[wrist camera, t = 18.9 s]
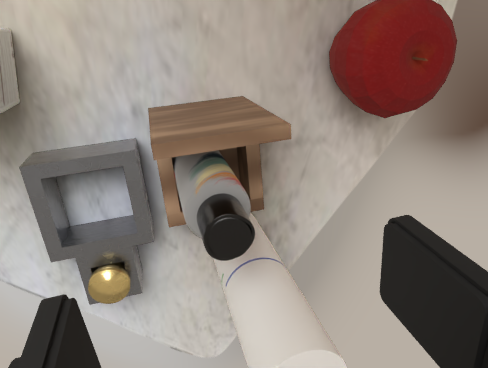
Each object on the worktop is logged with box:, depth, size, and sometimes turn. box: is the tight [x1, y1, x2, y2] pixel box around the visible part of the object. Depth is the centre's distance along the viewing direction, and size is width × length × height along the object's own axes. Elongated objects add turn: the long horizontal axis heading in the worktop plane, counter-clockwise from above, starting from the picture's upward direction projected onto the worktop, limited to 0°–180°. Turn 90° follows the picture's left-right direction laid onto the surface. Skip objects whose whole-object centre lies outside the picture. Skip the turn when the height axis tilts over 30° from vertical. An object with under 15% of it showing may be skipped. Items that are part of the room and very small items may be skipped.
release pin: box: [88, 261, 130, 304], centre depth 44 cm, size 4×4×6 cm
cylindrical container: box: [213, 213, 347, 368], centre depth 39 cm, size 7×7×25 cm
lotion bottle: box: [172, 150, 255, 261], centre depth 36 cm, size 6×6×20 cm
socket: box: [19, 138, 154, 304], centre depth 43 cm, size 18×11×5 cm, turn 5°
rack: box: [148, 96, 291, 227], centre depth 38 cm, size 12×11×16 cm
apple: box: [329, 0, 457, 118], centre depth 40 cm, size 12×12×13 cm
